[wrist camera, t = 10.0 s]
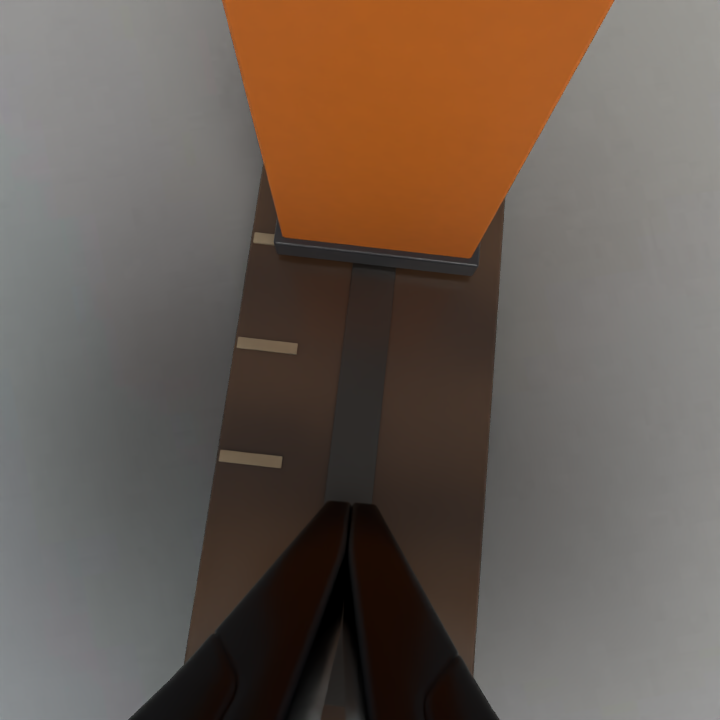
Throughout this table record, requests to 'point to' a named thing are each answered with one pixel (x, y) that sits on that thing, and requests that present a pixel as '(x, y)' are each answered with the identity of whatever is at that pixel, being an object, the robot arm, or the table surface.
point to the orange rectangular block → (401, 116)
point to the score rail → (354, 423)
